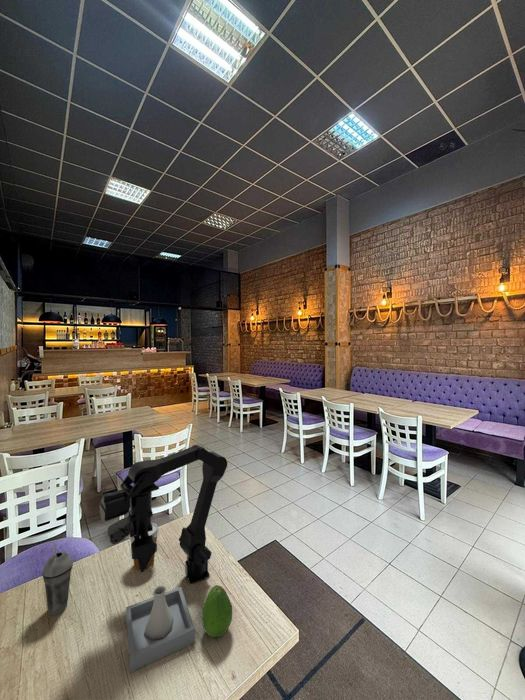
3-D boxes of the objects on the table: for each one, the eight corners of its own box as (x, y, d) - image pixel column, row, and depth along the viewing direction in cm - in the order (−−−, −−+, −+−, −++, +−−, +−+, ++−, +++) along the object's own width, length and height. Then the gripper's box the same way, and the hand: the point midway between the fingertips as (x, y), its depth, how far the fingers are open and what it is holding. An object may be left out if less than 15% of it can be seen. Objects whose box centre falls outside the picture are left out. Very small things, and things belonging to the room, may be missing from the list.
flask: (164, 643, 74) (164, 604, 74) (138, 637, 76) (138, 599, 76) (178, 617, 81) (178, 581, 81) (154, 612, 83) (154, 577, 83)
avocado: (202, 649, 74) (202, 602, 74) (201, 621, 81) (201, 578, 81) (234, 642, 75) (234, 596, 75) (230, 615, 83) (230, 573, 83)
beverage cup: (78, 603, 87) (78, 535, 86) (52, 624, 80) (52, 550, 80) (63, 594, 90) (63, 528, 90) (36, 613, 83) (36, 543, 83)
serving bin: (181, 598, 89) (181, 586, 89) (194, 642, 76) (194, 628, 75) (126, 619, 82) (126, 607, 82) (130, 672, 68) (130, 657, 68)
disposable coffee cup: (140, 578, 96) (140, 542, 96) (123, 567, 101) (123, 532, 101) (164, 561, 104) (164, 527, 104) (147, 550, 109) (147, 518, 109)
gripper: (109, 499, 90) (108, 550, 90) (110, 534, 74) (110, 596, 74) (147, 491, 95) (147, 539, 96) (157, 521, 79) (157, 579, 79)
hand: (140, 561), depth 86 cm, fingers open, 9 cm apart
